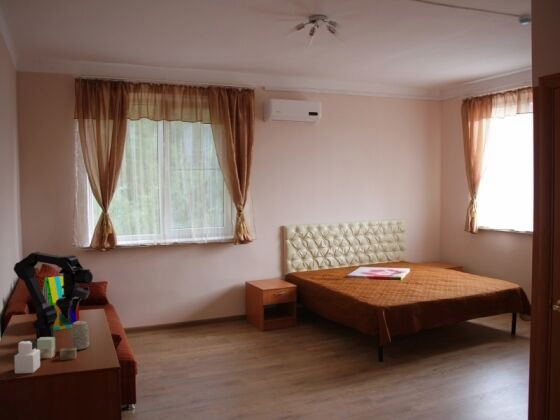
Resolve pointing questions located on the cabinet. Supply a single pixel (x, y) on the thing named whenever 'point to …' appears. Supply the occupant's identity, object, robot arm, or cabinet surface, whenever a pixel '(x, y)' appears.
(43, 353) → the birch brick
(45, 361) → the cabinet surface
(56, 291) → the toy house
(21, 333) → the cabinet surface
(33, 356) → the medicine bottle
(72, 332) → the carving
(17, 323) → the cabinet surface
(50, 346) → the sage brick
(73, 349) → the walnut brick
